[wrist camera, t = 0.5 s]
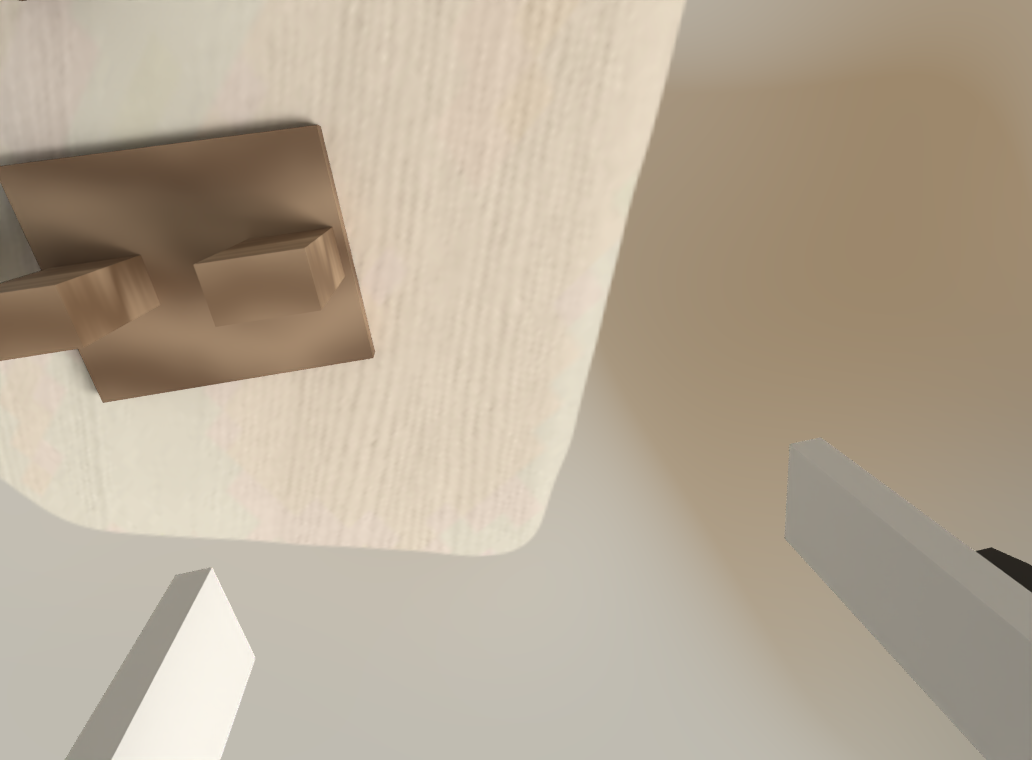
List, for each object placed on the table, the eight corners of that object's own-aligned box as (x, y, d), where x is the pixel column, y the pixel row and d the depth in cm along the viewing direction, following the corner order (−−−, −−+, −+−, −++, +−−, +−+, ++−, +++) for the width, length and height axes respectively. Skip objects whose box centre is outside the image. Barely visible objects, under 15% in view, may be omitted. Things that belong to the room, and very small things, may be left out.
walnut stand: (9, 166, 31) (-152, 171, 22) (320, 125, 32) (281, 116, 24) (112, 395, 36) (15, 469, 28) (374, 352, 37) (358, 409, 29)
